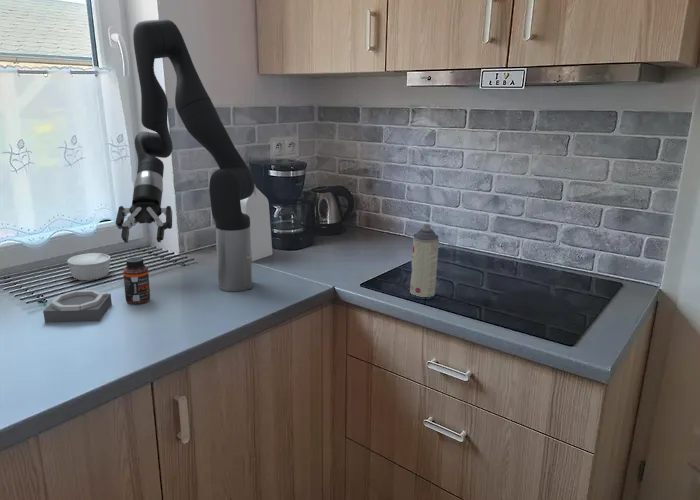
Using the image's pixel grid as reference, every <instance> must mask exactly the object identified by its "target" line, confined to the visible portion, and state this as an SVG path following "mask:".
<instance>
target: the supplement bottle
mask: <svg viewBox="0 0 700 500" xmlns="http://www.w3.org/2000/svg"><path fill="white" fill-rule="evenodd" d="M122 273H123V274H122V275H123V285H124V296H125V301H126V303H127V304H129V305H142V304H146V303H148V302H149V301H150V300H151V289H150V288H151V287H150V280H149V279H150V278H149V276H150V275H149V269H148V267H147V266H146V265H145V264H144V258H143V257H139V256H137V257H133V256H132V257H129V258H127V259H126V266H125V267H124V269H123V271H122Z"/></svg>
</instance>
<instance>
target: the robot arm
mask: <svg viewBox="0 0 700 500" xmlns="http://www.w3.org/2000/svg"><path fill="white" fill-rule="evenodd" d="M132 34H133V35H132V37H133V39H132V40H133V49H134V56H135V62H136V69H137V74H138V80H139V85H140V97H141V98H140V99H141V101H140V102H141V111H140V113H141V116H140V117H141V118H140V119H141V124H142V126H143V127H144V128H145V129H147V130H150V131H152V132H150V131H140V132H138V133H137V134H136V135H135V137H134V148H135V152H136V156H137V161H138V162H137V171H136V177H135V179H134V185H133V186H134V187H133V194H132V202H131V206H130V207H124V206H123V205H120V206H119V207H118V211H117V215H116V219H115V225H116V227H117V229H118V230H121V235H120V236H121V239H122V241H123V242H124V243H129V237H130V230H131V229H132V228H133V227H135V226H136V225H137V224H152V223H154V225H156V227H157V229H156V230H157V231H156V240H157V243H162V241H163V240H164V237H165V230H167V229H169V230H171V229H172V228H173V210H172V206H170V205H167V206H166V207H162V199H163V192H164V182H163V181H164V172H165V171H164V170H165V167H164V165H165V164H164V161H162V159H166V158H169V157H170V155H171V154H172V153H173V150H174V148H173V147H174V146H173V141H172V137H171V134H170V130H169V125H168V116H169V115H168V114H169V113H168V109H169V103H168V97H167V95H166V92H165V90H164V88H163V87H162V85H161V84H160V82H159V80H158V79H157V76H156V74H155V70H154V69H155V67H154V66H155V59H164V58H168V60H169V61H170V62H171V64H172V66H173V69H174V71H175V72H174V73H175V75H176V77H175V78H176V85H175V95H174V98H175V99H174V105H175V109H176V112H177V113H178V115H179V117H180V120H181V122H182V123H183V125H184V127H185V129H186V131H187V132H188V133H189V134H190V135H191V136H192V138H193V139H194V140H196V142H198V143H199V144H200V145H201V146H202V147H203V148H204V149H206V151H208V153H209V154H210V155H211V156H212V158H213V159H214V161H215V163H216V164H217V166H218V168H219V169H217V170H215V171H214V172H213V173H212V174H211V176H210V180H209V186H208V188H209V191H208V192H209V199H210V200H209V201H210V209H211V210H210V211H211V215H212V218H213V220H214V225H215V241H216V243H215V244H216V259H217V260H216V262H217V281H218V288H219V289H220V290H221V291H226V292H242V291H245V290H249V289H250V290H251V289H252V288H253V261H252V251H251V234H250V217H249V216H248V215H247V214H244V213H242V211H241V203H240V200H243V199H246V198H248V197H250V196H251V195H252V193H253V191H254V187H255V186H256V184H254V183H255V180H254V175H253V174H252V172H251V170H250V168H249V167H248V166H247V164H246V163H245V161H244V159H243V158H242V156H241V155H240V153H239V152H238V150H237V148H236V147H235V145H234V143H233V141H232V139H231V137H230V135H229V133H228V131H227V130H226V127H225V126H224V124H223V122H222V120H221V118H220V116H219V114H218V111H217V109H216V107H215V105H214V103H213V101H212V99H211V98H210V97H211V96H210V95H209V94H208V92H207V90H206V89H205V86H204V84H203V82H202V80H201V78H200V76H199V73H198V71H197V69H196V67H195V65H194V63H193V60H192V57H191V55H190V53H189V50H188V47H187V45H186V42H185V40H184V37H183V35H182V33H181V31H180V29H179V28H178V25H176V24H175V22H173V20H170V19H167V18H166V19H151V20H141V21H140V20H139V21H138V22H137V23H136V24H135V25H134V27H133V32H132ZM160 158H162V159H160ZM129 213H130V215H129ZM162 214H164V216H165V222H162V220H161V219H160V218H159V217H160V216H161V215H162ZM127 215H129V216H128V217H127ZM126 217H127V219H126V220H125V218H126Z"/></svg>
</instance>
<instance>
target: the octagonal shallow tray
mask: <svg viewBox="0 0 700 500" xmlns="http://www.w3.org/2000/svg"><path fill="white" fill-rule="evenodd" d="M112 305H113V304H112V295H111V293H108V292H106V291H103V292H100V291H98V290H95V289H86V290H85V289H81V290H80V289H78V290H72V291H69V292H66V293H63V294H59V295H57V296H56V297H54V299H53V300H52V301H51V302H50V304H49V305H48V306H47V307H46V308H45V309H44V310H43V312H42V313H43V318H44V324H56V323H57V324H58V323H59V324H60V323H61V324H62V323H84V322H86V323H87V322H101V320H102V319H103V318H104V316H105V315H106V313H107V312H108V310H109V309H110V308H111V306H112Z"/></svg>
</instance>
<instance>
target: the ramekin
mask: <svg viewBox="0 0 700 500" xmlns="http://www.w3.org/2000/svg"><path fill="white" fill-rule="evenodd" d="M66 261H67V262H66V263H67V265H68V267H69V270H70V273H71V277H73V278H74V279H75V278H76V279H75V280H77V279H78V281H83V280H87V281H93V280H92V279H96V280H98V279H97V278H100V279H102V278H101V277H103V278H105V277H107V275H108V274H109V272H110V266H111V265H110V262H111V261H112V259H111V256H110V255H109V254H106V253H100V252H91V253H89V252H88V253H83V254H77V255H73V256H71V257H69V258H68V259H67V260H66ZM104 276H105V277H104Z"/></svg>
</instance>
